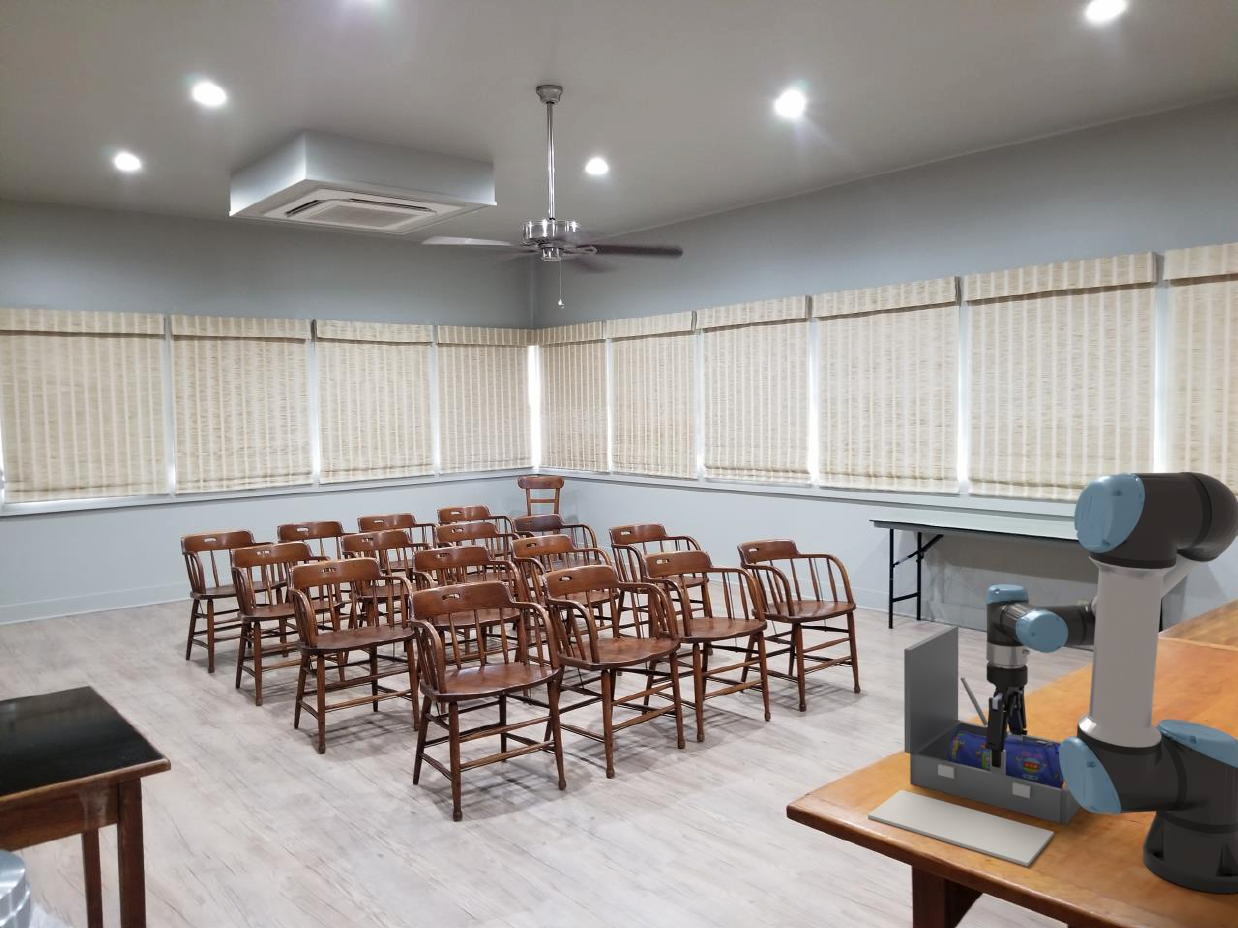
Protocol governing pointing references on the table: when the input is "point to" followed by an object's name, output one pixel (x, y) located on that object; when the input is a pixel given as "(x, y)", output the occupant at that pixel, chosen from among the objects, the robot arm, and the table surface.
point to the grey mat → (963, 827)
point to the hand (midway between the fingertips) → (1006, 773)
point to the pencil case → (1011, 757)
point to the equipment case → (937, 721)
